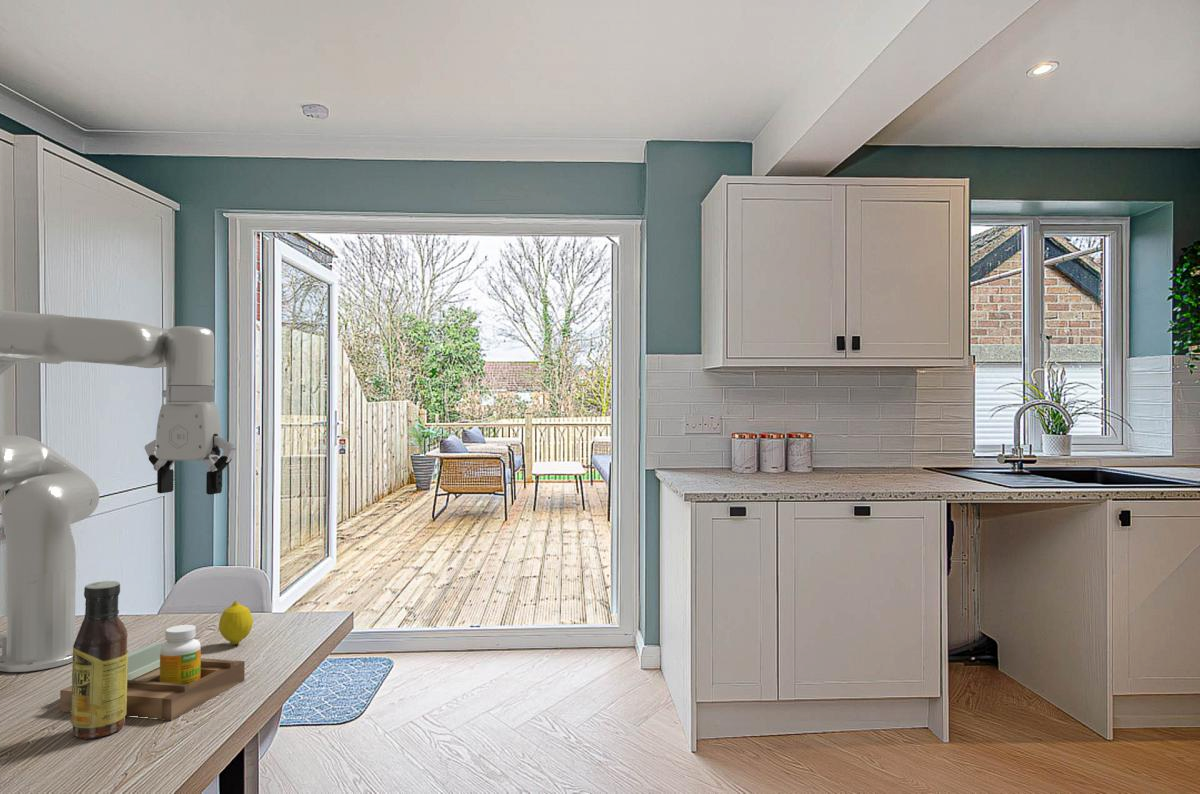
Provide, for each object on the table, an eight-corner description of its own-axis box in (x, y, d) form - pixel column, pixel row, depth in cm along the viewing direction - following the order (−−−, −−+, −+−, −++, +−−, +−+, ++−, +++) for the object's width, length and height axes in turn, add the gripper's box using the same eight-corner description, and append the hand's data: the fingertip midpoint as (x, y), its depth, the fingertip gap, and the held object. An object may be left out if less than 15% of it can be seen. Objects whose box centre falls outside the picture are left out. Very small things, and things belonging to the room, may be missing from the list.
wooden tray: (60, 711, 109) (60, 684, 109) (145, 672, 125) (145, 649, 125) (171, 720, 106) (171, 693, 106) (244, 680, 122) (244, 656, 122)
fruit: (230, 651, 136) (231, 606, 136) (212, 646, 139) (212, 602, 139) (258, 643, 141) (259, 599, 141) (240, 638, 144) (240, 595, 144)
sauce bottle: (66, 731, 103) (68, 583, 103) (120, 717, 107) (121, 575, 107) (77, 746, 98) (78, 591, 98) (132, 732, 103) (133, 583, 103)
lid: (75, 679, 113) (75, 655, 113) (120, 660, 122) (120, 638, 122) (124, 682, 112) (125, 658, 112) (167, 663, 120) (167, 641, 120)
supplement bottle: (182, 701, 112) (183, 634, 112) (150, 698, 113) (151, 632, 113) (208, 687, 117) (208, 624, 117) (177, 685, 118) (178, 622, 118)
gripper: (131, 396, 133) (130, 494, 133) (219, 396, 130) (219, 496, 130) (162, 396, 141) (162, 489, 141) (247, 396, 138) (247, 491, 137)
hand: (189, 493), depth 135 cm, fingers open, 9 cm apart
